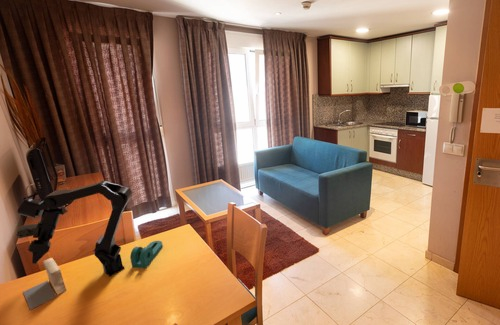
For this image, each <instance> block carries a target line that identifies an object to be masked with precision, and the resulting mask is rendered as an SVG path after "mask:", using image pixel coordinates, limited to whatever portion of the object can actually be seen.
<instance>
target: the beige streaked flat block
mask: <svg viewBox="0 0 500 325" xmlns="http://www.w3.org/2000/svg"><path fill="white" fill-rule="evenodd" d="M42 262H43V265H44V268H45V271H46V274H47V277H48V280H49V281H48V282H49V284H50V286H51V287H52V289H53V291H54V293H55V294H56V296H58V295H60V294H62V293H64V292H65V291H67V287H66V284H65V281H64V278H63V275H62V272H61V269H60V267H59V266H58V264H57V263H56V261H55V260H54V259H53V257H50V258H47V259H45V260H43V261H42Z"/></svg>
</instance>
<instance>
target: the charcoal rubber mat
mask: <svg viewBox="0 0 500 325" xmlns="http://www.w3.org/2000/svg"><path fill="white" fill-rule="evenodd" d="M22 292H23V296H24V298H25V300H26V303H27V305H28V308H29V309H30V311H32V310H34V309H36V308H38V307H40V306H42V305H43V304H46V303H47V302H49V301H51V300H54V299H55V298H57V296H58V295H57V294H56V292H55V290H54V288H53V287H52V285H51V283H50V281H48V280H46V281H43V282H42V283H39V284H37V285H35V286H33V287H30V288H29V289H26V290H25V291H22Z"/></svg>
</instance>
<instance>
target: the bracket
mask: <svg viewBox="0 0 500 325" xmlns="http://www.w3.org/2000/svg"><path fill="white" fill-rule="evenodd" d="M163 247H164V246H163V242H162V241H161V240H154V241H150V242H149V243H148V244H147V246H144V247H142V246H134V247H133V248H132V249H131V252H130V256H129V257H130V262H131V267H132V268H133V269H134V268H135V269H137V268H138V269H147V268H148V267H149V265H150V264H151V263H152V262H153V261H154V259H155V258H156V256H158V254H159V253H160V252H161V250H163Z"/></svg>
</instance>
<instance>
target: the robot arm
mask: <svg viewBox="0 0 500 325" xmlns="http://www.w3.org/2000/svg"><path fill="white" fill-rule="evenodd" d="M98 194H99V195H101V196H103V197H104V198H105V199H106V200H108V201H111V209H112V210H111V212H110V216H109V220H108V222H107V225H106V228H105V231H104V234H103V235H101V236H100V237H99V239H98V240H97V241H96V242H95V246H94V250H93V251H92V252H93V253H94V256H95V258H97V259H98V260H99V262H100V263H101V264H102V268H103V271H104V273H105V274H107V275H108V276H109V277H111V276H113V275H116V274H117V273H119V272H120V271H122V270H124V269H125V266H124V265H123V261H122V257H121V254H120V252H121V250H122V247H121V246H120V245H118V244H116V238H115V237H116V233H117V231H118V228H119V224H120V221H121V218H122V215H123V212H124V210H125V208H126V206H127V204H128V203H129V201H130V200H131V198H132V196H133V191H132V189H131V188H130V187H128V186H123V185H121V184H117V183H113V182H110V181H107V180H100V181H98V182H94V183H92V184H91V183H90V184H87V185H83V186H80V187H76V188H72V189H58V190H54V191H53V192H51V193H49V194H48V195H46V196H45V197H44V198H43V200H42V201H41V200H40V201H39V200H36V199H33V198H31V197H27V198H25V199H23V202H22V203H21V204H20V206H18V209H17V215H20V216H21V215H22V216H25V217H29V218H33V219H36V218H38V217H40V219H39V220H38V222H37V223H32V224H24V225H19V226H18V228H17V230H16V233H17V234H16V236H17V238H18V239H23V238H29V237H32V238H33V239H34V240H31V241H30V244H29V246H28V249H27V251H29V253H30V252H31V253H32V262H31V264H37V263H38V262H39V260H41V259H42V258H43V257H44V255H46V254H47V253H48V252H49V251H50V248H51V246H52V245H51V244H52V242H51V241H50V240H51V239H53V236H54V234H55V231H56V228H57V225H58V222H59V218H60V216H61V215H62V216H64V215H65V214H67V213H68V210H67V209H66V207H65V206H64V205H66V204H68V203H70V202H72V201H75V200H79V199H82V198H87V197H90V196H94V195H98Z"/></svg>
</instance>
